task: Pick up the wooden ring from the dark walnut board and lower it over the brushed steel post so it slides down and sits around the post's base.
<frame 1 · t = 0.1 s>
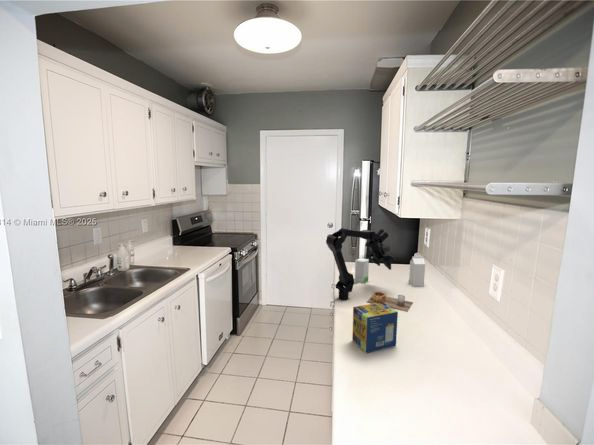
hand: (384, 267, 183), 15 cm above the worktop, tool tilted 30°, fingers open, 9 cm apart
skincare box: (361, 282, 200), on the worktop
post board: (389, 304, 164), on the worktop
wooden ring: (378, 299, 167), point 1 cm above the worktop, touching post board
milk carton: (416, 284, 195), on the worktop
protein box: (373, 343, 127), on the worktop
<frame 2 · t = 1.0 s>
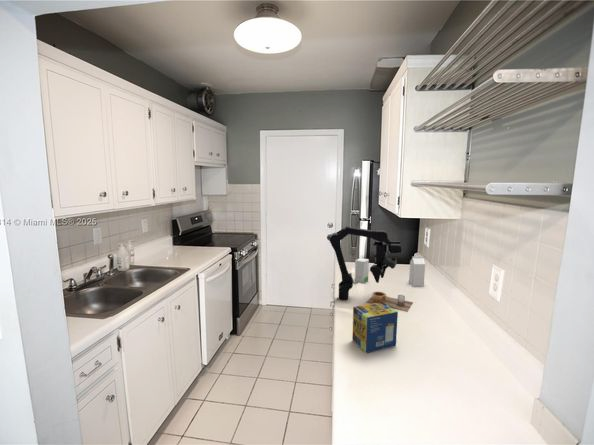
hand: (379, 280, 166), 13 cm above the worktop, tool pointing down, fingers open, 9 cm apart
nothing on the worktop moved.
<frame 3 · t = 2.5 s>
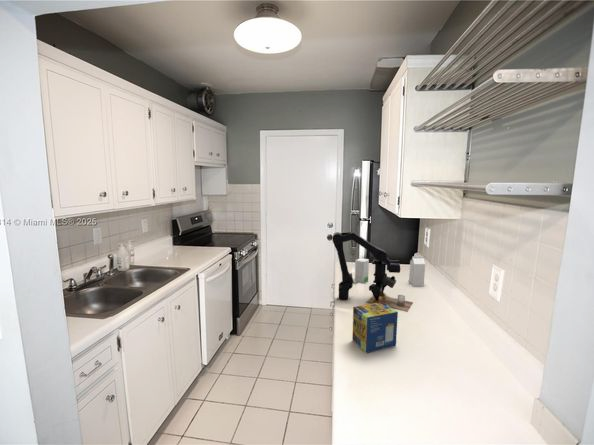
hand: (379, 298, 167), 2 cm above the worktop, tool pointing down, fingers closed on wooden ring, 7 cm apart
wooden ring: (378, 299, 167), point 1 cm above the worktop, touching gripper, post board
everything else where it was.
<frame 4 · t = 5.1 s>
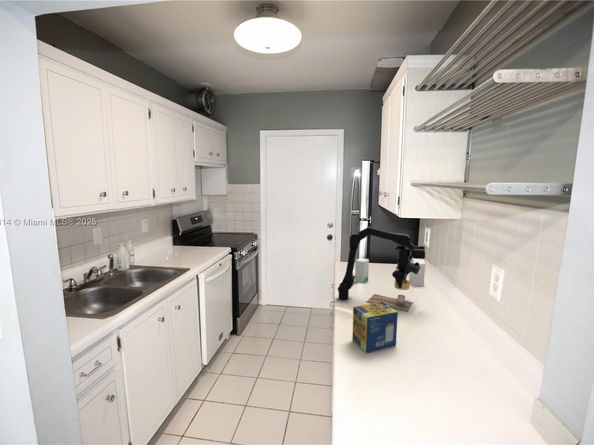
hand: (401, 285, 159), 12 cm above the worktop, tool pointing down, fingers closed on wooden ring, 7 cm apart
wooden ring: (401, 287, 159), point 11 cm above the worktop, touching gripper
everything else where it was.
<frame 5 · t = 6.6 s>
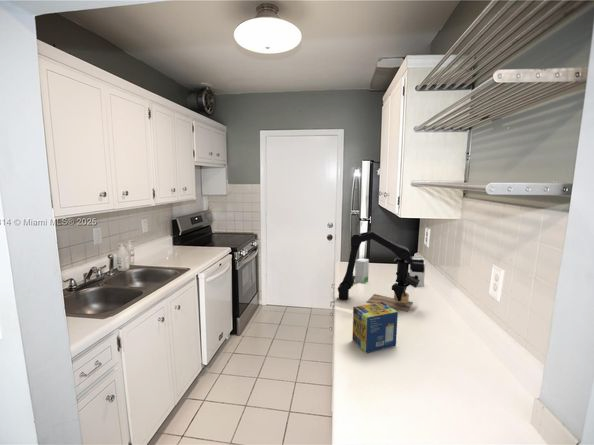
hand: (401, 298, 160), 5 cm above the worktop, tool pointing down, fingers closed on wooden ring, 7 cm apart
wooden ring: (401, 300, 161), point 4 cm above the worktop, touching gripper
everything else where it was.
when the fingers open (5 cm above the worktop, at t = 7.7 s): wooden ring drops 2 cm, resting on post board.
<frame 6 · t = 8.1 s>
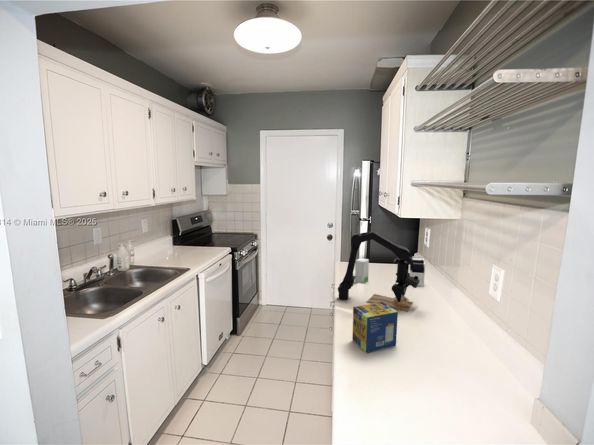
hand: (401, 299, 160), 5 cm above the worktop, tool pointing down, fingers open, 9 cm apart
wooden ring: (400, 304, 161), point 1 cm above the worktop, touching post board
everything else where it was.
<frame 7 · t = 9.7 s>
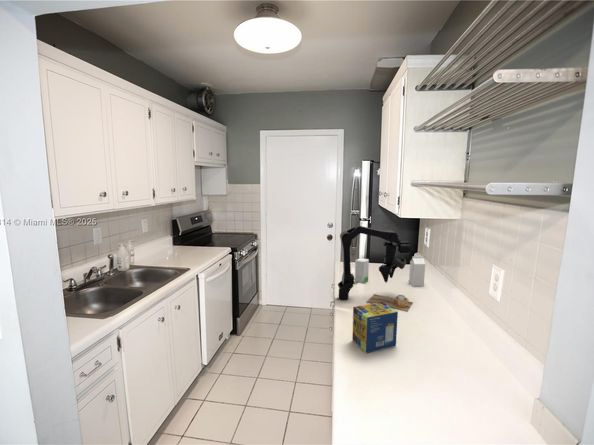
hand: (388, 280, 168), 12 cm above the worktop, tool pointing down, fingers open, 9 cm apart
nothing on the worktop moved.
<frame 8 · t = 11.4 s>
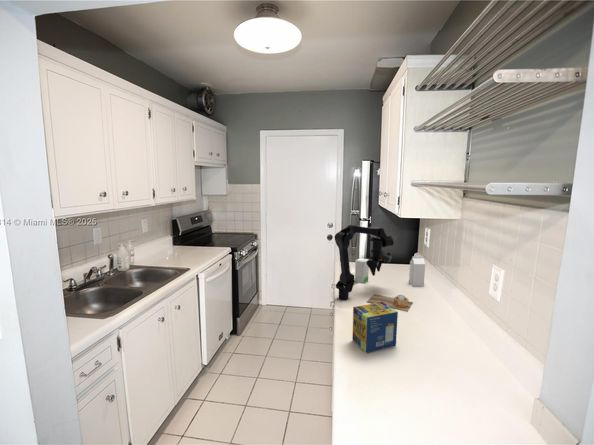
hand: (376, 273, 179), 12 cm above the worktop, tool pointing down, fingers open, 9 cm apart
nothing on the worktop moved.
at the end: wooden ring 0.0 cm from the target spot on the post board, point 1.5 cm above the post board's base; the gripper is holding nothing; wooden ring tilted 0° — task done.
